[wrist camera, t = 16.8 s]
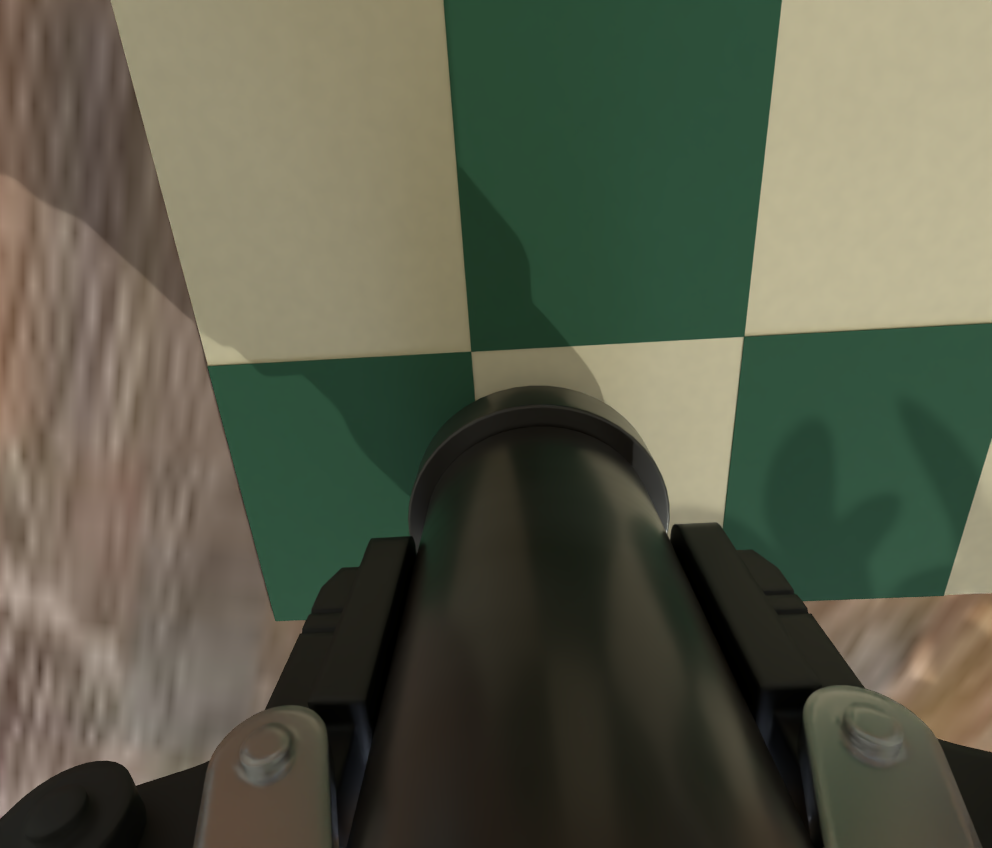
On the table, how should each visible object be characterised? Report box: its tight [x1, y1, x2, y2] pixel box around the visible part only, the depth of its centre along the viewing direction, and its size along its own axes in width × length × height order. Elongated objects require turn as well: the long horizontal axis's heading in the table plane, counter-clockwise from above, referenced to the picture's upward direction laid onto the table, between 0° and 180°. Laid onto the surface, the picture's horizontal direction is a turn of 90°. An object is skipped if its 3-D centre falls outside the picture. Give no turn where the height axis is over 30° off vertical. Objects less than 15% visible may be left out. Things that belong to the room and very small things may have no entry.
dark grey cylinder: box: [346, 386, 815, 848], centre depth 8 cm, size 5×5×10 cm
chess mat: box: [111, 0, 992, 621], centre depth 11 cm, size 24×22×1 cm
